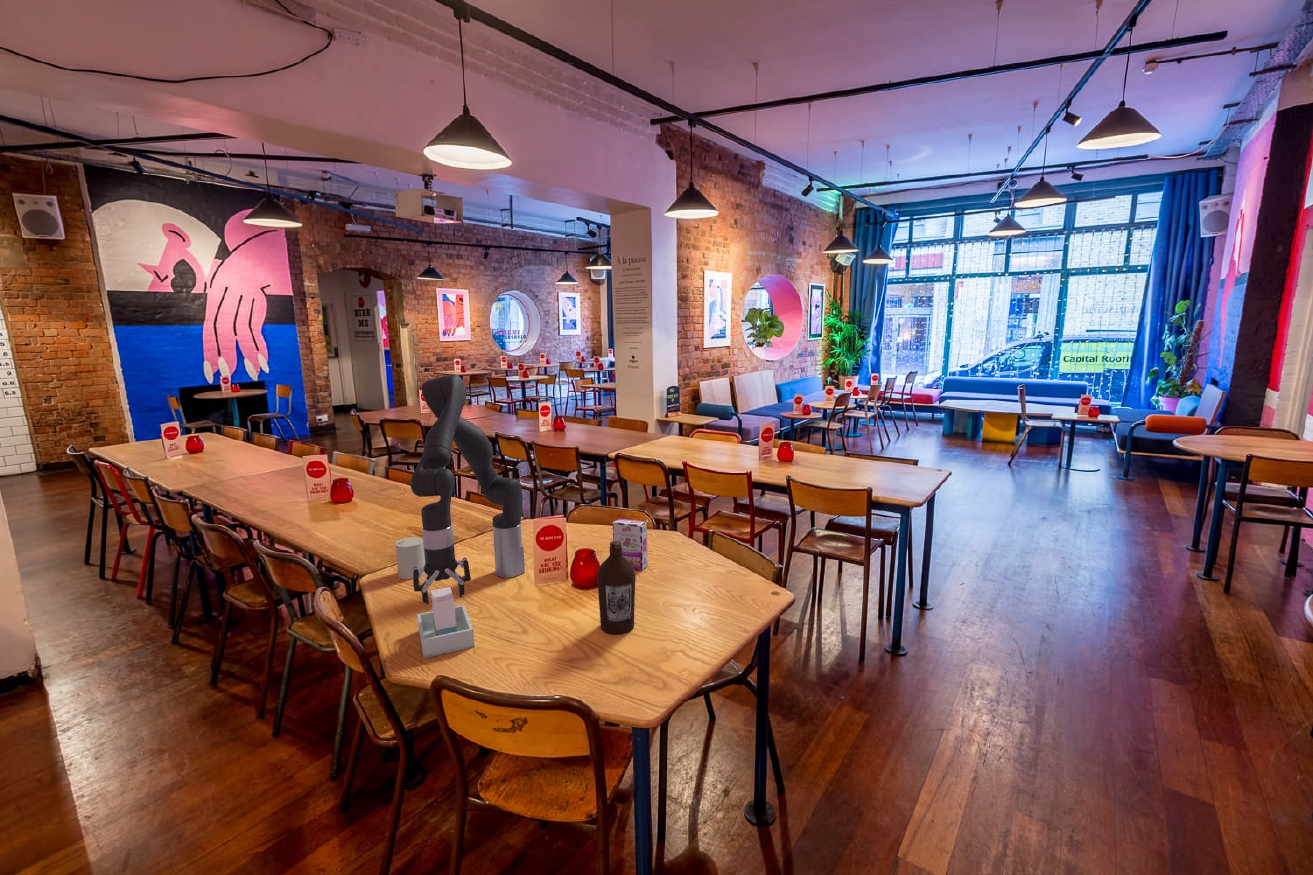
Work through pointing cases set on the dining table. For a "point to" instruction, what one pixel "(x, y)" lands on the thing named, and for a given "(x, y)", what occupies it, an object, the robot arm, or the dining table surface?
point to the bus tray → (447, 641)
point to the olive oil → (616, 592)
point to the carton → (443, 611)
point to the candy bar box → (632, 541)
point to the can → (409, 556)
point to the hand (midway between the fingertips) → (444, 599)
